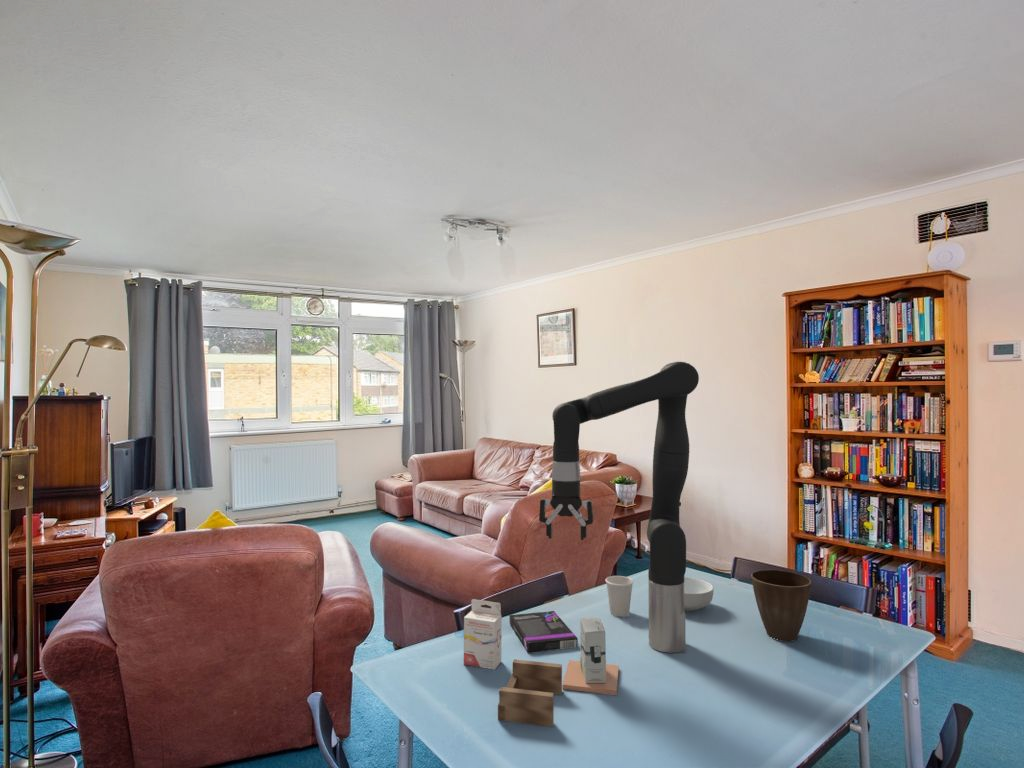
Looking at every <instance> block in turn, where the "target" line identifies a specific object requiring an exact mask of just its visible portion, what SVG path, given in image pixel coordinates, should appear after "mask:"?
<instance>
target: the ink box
mask: <svg viewBox="0 0 1024 768" xmlns="http://www.w3.org/2000/svg"><path fill="white" fill-rule="evenodd" d="M579 619H580V620H579V621H580V625H579V627H580V628H579V629H580V661H581V669H582V672H583V676H584V679H585V683H606V664H607V662H606V661H607V654H606V653H607V652H606V649H607V647H606V629H605V627H604V625H603V622H602V619H601V618H600V616H591V617H580V618H579Z"/></svg>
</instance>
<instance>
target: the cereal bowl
mask: <svg viewBox="0 0 1024 768" xmlns="http://www.w3.org/2000/svg"><path fill="white" fill-rule="evenodd" d="M713 586H714V585H712V584H711V583H710V582H708V581H706V580H703V579H700V578H696V577H690V576H684V602H685V612H693V611H698V609H702V608H704V607H707V606H709V605H710V604H711V602H712V600H713V597H714V587H713Z"/></svg>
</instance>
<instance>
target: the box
mask: <svg viewBox="0 0 1024 768" xmlns="http://www.w3.org/2000/svg"><path fill="white" fill-rule="evenodd" d="M509 626H510V628H512V629H511V630H512V631H513V630H514V631H513V632H514V633H515V636H516V637H517V638H518V641H519V642H520V643H521V645H522V646H523V648H524V650H525V651H526V653H527V654H533V653H538V652H539V653H542V652H547V651H548V652H549V650H550V651H555V650H556V649H558V650H564V648H566V649H573V648H572V647H575V648H578V637H577V636H576V634H575V633H574V632H573V631H572V630H571V628H569V627H568V625H567V624H566V623H565V622H564V621H563V619H561V617H560V616H559V615H558V614H557V613H556V611H555V610H550V611H540V612H538V611H537V612H530V613H529V612H528V613H520V614H519V613H517V614H509Z"/></svg>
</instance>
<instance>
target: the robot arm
mask: <svg viewBox="0 0 1024 768" xmlns="http://www.w3.org/2000/svg"><path fill="white" fill-rule="evenodd" d="M699 375H700V374H699V373H698V370H697V368H696V367H694V366H693V365H692V364H691V363H688V362H685V361H673V362H670V363H668V364H665V365H664V366H663V367H662V368H661V369H660V371H659V372H657V373H655V374H653V375H650V376H648V377H645V378H642V379H638V380H636V381H633V382H629V383H623V384H619V385H615V386H613V387H608V388H606V389H603V390H600V391H597V392H594V393H591V394H588V395H587V396H584V397H581V398H576V399H573V400H569V401H566V402H563V403H560V404H558V405H556V407H555V408H554V410H553V411H552V421H553V438H554V440H553V445H552V467H551V468H552V469H551V498H550V499H547V498H545V497H542V498H541V499H540V501H539V514H538V516H539V517H538V518H539V519H538V520H539V522H540V523H544V524H545V526H546V527H545V532H546V533H545V534H546V537H548V539H553V523H552V522H553V521H554V519H555V518H556V517H557V515H558V516H559V517H569V518H572V517H575V519H576V520H577V521H578V523H579V524H580V541H584V539H586V537H587V534H588V533H587V526H588V525H592V524H593V523H594V509H593V508H594V506H593V500H592V499H588V500H582V498H581V466H580V465H581V464H580V445H579V443H580V442H579V440H580V439H579V437H580V430H581V429H580V426H581V424H584V423H586V422H590V421H596V420H600V419H603V418H607V417H609V416H614V415H615V414H618V413H621V412H624V411H627V410H630V409H633V408H635V407H637V406H640V405H643V404H646V403H650V402H654V401H657V402H658V412H657V422H656V429H655V436H654V446H653V456H652V498H651V500H652V501H651V507H650V513H649V518H648V524H647V529H646V536H647V537H646V538H647V540H648V543H649V568H648V573H647V575H648V645H649V646H650V648H652V649H654V650H656V651H659V652H661V653H662V652H663V653H671V654H673V653H679V652H684V653H685V652H686V651H687V649H686V647H687V646H686V645H687V643H686V638H687V637H686V636H687V635H686V634H687V633H686V630H687V629H686V611H685V602H684V577H685V575H686V571H687V570H686V569H687V539H686V534H685V532H684V530H683V528H682V527H681V524H680V505H681V504H680V502H681V497H682V493H683V489H684V487H685V484H686V480H687V477H688V472H689V471H688V470H689V463H690V462H689V461H690V438H689V437H690V436H689V433H688V428H687V420H686V410H687V408H686V407H687V400H688V395H690V394H691V393H693V392H694V390H695V389H696V388H697V386H698V384H699V380H700V376H699ZM549 505H550V506H551V508H552V509H553V511H552V512H551V514H550V515H549V516H548V517H546V508H548V506H549ZM582 506H583V507H584V510H585V509H586V511H587V519H586V518H585V517H584V516H583V514H582V512H581V511H580V508H581V507H582Z"/></svg>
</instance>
